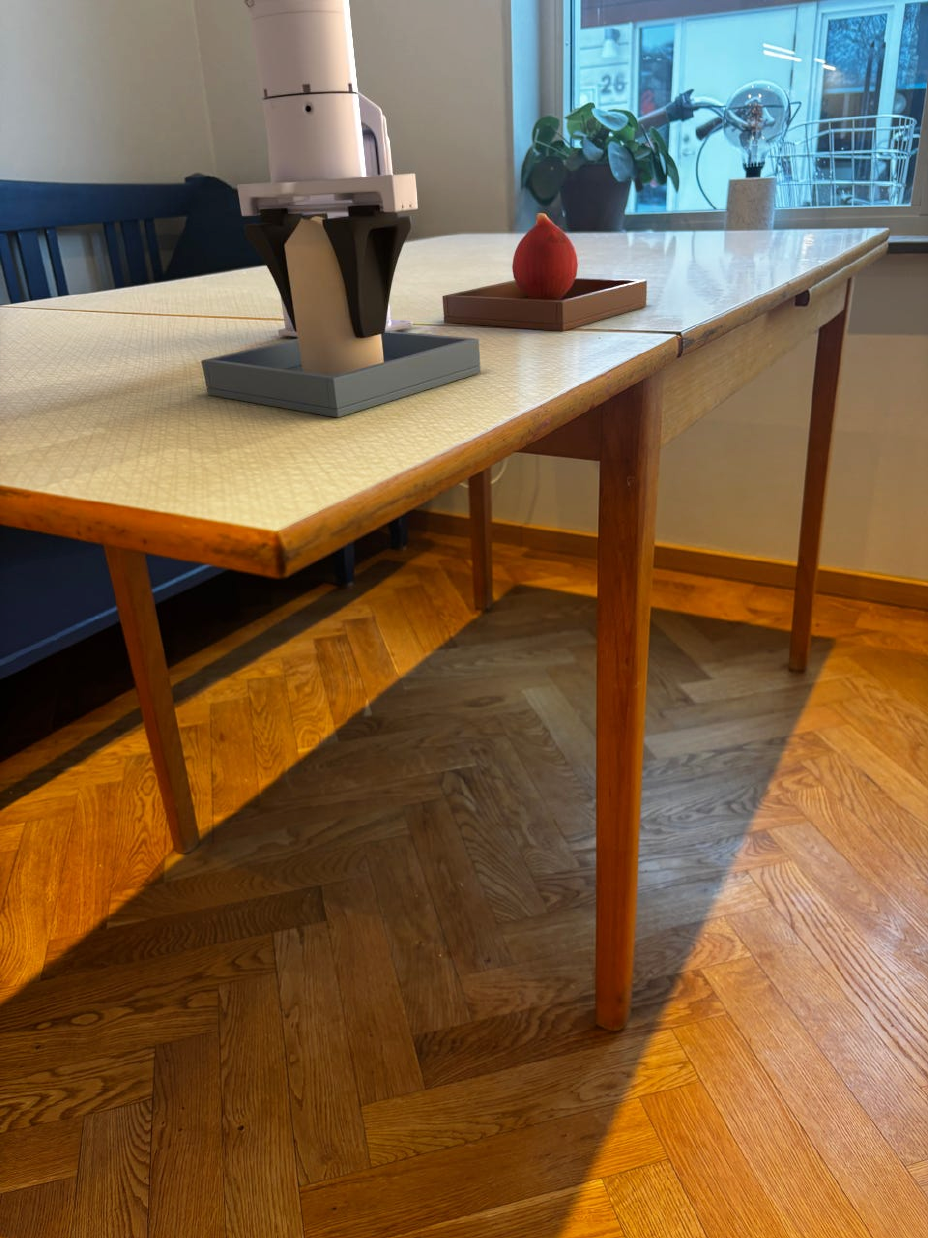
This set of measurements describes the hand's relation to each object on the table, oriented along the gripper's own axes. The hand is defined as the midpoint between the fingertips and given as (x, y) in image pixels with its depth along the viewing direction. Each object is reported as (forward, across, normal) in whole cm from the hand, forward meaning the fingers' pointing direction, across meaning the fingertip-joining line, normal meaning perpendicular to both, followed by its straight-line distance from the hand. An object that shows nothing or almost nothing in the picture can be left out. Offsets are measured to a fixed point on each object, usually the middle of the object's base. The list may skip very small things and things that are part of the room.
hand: (338, 332), depth 61 cm
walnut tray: (+3, -4, +28) cm, 29 cm away
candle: (+3, 0, 0) cm, 3 cm away
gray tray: (+3, 0, 0) cm, 3 cm away
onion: (+3, -4, +28) cm, 29 cm away
